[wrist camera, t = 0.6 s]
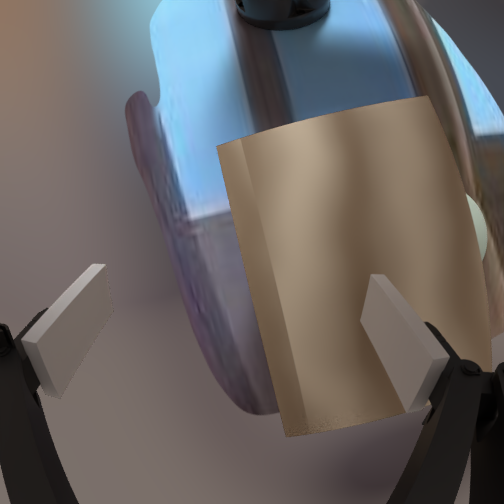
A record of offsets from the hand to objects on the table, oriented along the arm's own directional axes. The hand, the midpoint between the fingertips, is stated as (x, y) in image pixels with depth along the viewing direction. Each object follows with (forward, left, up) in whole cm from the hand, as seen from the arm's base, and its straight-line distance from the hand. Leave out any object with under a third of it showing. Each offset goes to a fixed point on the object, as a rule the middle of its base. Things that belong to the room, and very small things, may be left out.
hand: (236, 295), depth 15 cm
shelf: (-4, +6, -23) cm, 24 cm away
